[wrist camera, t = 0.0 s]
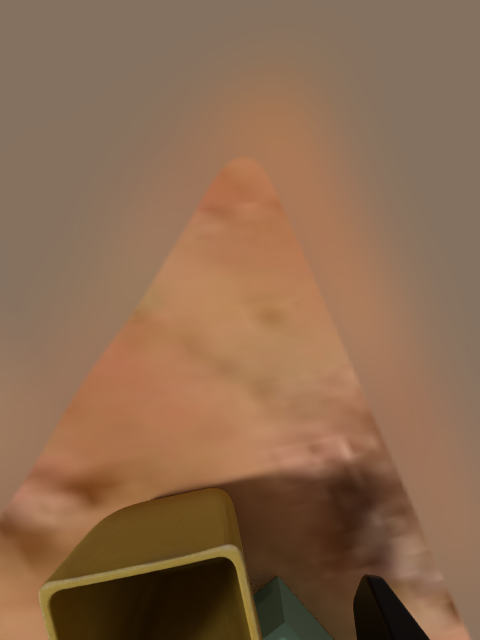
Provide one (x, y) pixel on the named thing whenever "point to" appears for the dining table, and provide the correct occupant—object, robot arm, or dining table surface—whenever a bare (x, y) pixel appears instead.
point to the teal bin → (285, 615)
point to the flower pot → (156, 575)
